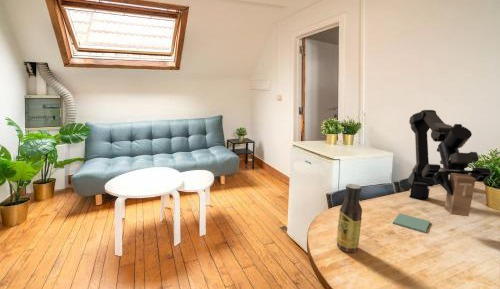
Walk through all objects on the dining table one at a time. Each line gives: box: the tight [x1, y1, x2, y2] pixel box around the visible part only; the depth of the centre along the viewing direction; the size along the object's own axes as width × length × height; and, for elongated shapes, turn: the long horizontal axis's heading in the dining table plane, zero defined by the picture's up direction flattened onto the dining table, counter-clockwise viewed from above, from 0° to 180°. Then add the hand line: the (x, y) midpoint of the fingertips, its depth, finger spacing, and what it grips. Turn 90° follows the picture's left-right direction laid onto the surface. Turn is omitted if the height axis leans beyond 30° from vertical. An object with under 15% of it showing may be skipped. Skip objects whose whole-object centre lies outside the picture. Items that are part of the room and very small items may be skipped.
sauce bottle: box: [336, 183, 363, 253], centre depth 78 cm, size 6×6×20 cm
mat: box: [392, 212, 431, 234], centre depth 96 cm, size 10×10×1 cm
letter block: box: [443, 173, 476, 218], centre depth 88 cm, size 5×5×13 cm
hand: (461, 195), depth 86 cm, fingers closed on letter block, 5 cm apart
